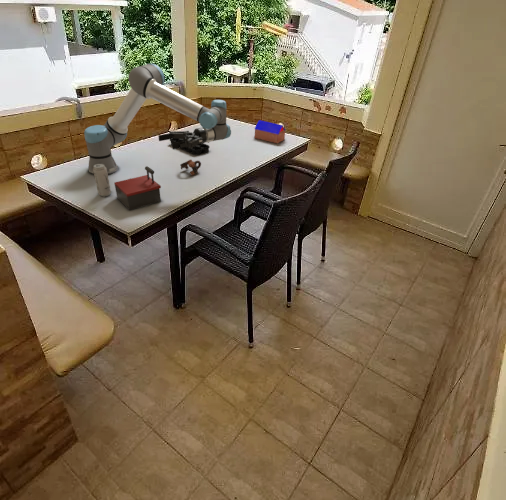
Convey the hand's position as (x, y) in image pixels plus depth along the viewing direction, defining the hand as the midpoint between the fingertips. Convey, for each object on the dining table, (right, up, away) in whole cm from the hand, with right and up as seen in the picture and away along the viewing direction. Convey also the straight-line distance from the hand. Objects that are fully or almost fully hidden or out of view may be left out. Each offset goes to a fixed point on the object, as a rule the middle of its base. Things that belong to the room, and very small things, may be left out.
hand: (165, 142), depth 166 cm
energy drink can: (-33, -24, +9) cm, 41 cm away
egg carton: (-1, +17, +69) cm, 71 cm away
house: (+54, +32, +94) cm, 113 cm away
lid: (-14, -21, +2) cm, 25 cm away
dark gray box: (-15, -27, +6) cm, 31 cm away
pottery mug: (+6, -4, +34) cm, 35 cm away
